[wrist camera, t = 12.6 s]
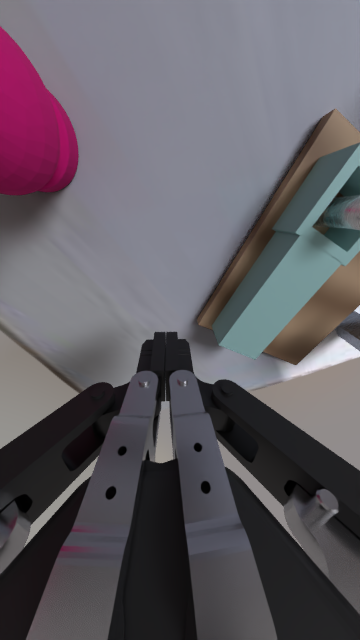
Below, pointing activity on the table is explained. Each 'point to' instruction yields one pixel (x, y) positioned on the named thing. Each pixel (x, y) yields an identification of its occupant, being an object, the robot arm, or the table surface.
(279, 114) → the table surface
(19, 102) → the pepper mill
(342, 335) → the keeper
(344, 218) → the capsule
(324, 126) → the board
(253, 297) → the teal bar with hole
